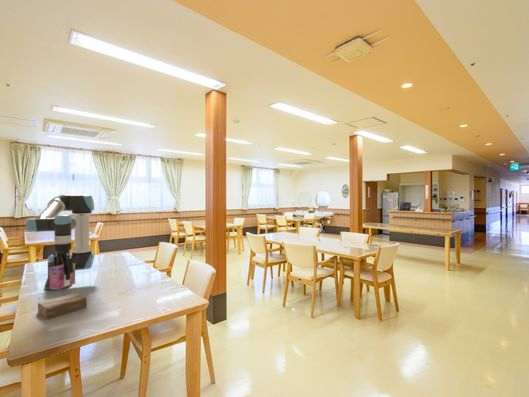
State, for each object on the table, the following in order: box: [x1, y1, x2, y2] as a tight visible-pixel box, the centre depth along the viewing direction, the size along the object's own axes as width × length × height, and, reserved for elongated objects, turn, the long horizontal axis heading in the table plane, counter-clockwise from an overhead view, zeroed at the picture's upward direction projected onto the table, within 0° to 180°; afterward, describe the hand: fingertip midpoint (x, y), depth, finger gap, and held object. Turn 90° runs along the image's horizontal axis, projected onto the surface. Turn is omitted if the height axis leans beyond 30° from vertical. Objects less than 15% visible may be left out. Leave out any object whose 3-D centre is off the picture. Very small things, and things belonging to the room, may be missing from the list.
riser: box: [37, 292, 88, 320], centre depth 146 cm, size 14×18×6 cm
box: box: [50, 263, 76, 291], centre depth 146 cm, size 10×6×12 cm, turn 168°
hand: (62, 284), depth 146 cm, fingers closed on box, 6 cm apart
